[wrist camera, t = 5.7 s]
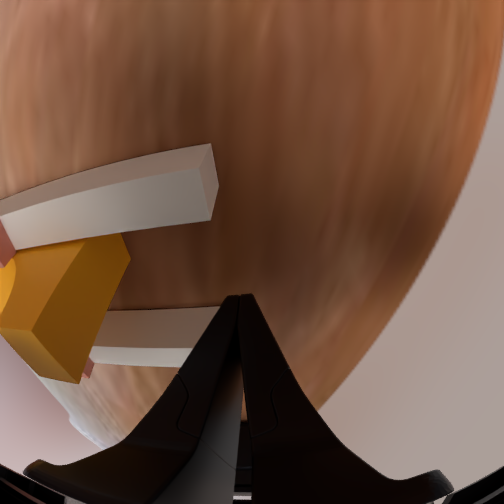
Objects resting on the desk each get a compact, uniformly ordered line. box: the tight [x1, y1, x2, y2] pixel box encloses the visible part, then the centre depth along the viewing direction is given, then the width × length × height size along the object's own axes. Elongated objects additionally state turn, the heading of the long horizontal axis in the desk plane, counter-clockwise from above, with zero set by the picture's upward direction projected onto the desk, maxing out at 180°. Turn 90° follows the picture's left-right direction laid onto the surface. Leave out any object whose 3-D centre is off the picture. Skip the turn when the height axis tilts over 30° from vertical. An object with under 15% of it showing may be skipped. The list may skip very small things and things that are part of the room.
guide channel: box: [0, 143, 220, 378], centre depth 11 cm, size 9×12×3 cm
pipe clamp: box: [0, 233, 131, 384], centre depth 10 cm, size 12×4×6 cm, turn 96°
